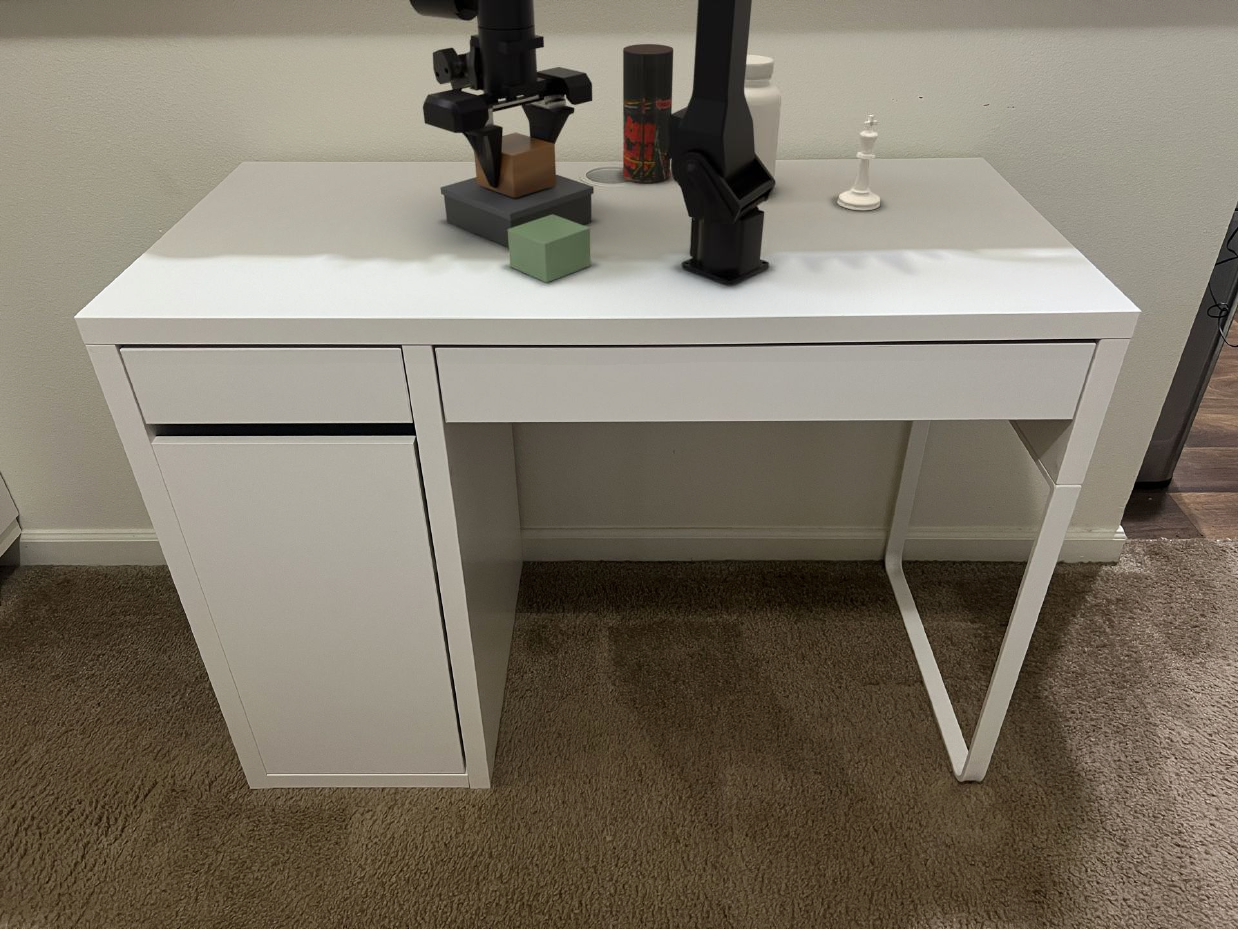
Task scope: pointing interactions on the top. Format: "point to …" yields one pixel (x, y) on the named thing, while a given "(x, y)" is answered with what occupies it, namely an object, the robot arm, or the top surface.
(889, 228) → the top surface
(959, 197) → the top surface
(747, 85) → the pill bottle
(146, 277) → the top surface
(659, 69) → the deodorant
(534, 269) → the sage box
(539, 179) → the oak box
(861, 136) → the chess piece
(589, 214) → the storage box
